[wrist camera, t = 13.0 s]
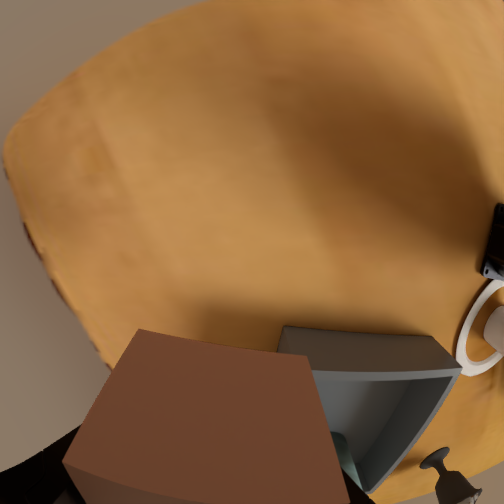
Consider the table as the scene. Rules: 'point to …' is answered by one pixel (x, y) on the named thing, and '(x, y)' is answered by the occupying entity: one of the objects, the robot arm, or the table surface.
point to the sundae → (450, 481)
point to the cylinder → (345, 456)
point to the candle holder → (495, 333)
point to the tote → (375, 390)
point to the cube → (206, 429)
